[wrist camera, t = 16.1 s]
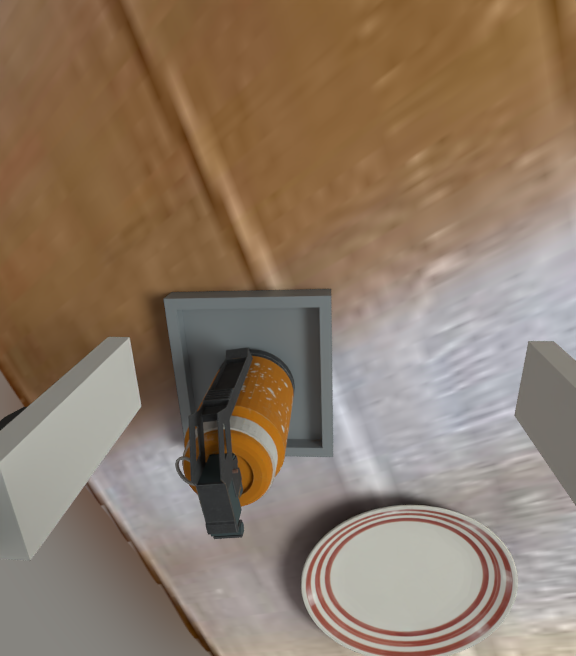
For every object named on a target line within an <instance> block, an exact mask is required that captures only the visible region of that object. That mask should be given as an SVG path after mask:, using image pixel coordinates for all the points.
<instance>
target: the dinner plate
mask: <svg viewBox="0 0 576 656" xmlns="http://www.w3.org/2000/svg"><path fill="white" fill-rule="evenodd" d="M517 587H518V576H517V570H516V565H515V563H514V560H513V557H512V555H511V554H510V552H509V550H508V548H507V547H506V546H505V544H504V543H503V542H502V541H501V540H500V539H499V538H498V537H497V536H496V535H495V534H494V533H493V532H492V531H491V530H489V529H488V528H487V527H485V526H484V525H482V524H481V523H479V522H477V521H476V520H474V519H472V518H470V517H467V516H465V515H463V514H460V513H457V512H455V511H451V510H447V509H444V508H439V507H432V506H424V505H396V506H388V507H383V508H378V509H374V510H370V511H367V512H364V513H361V514H359V515H356V516H354V517H352V518H350V519H348V520H346V521H344V522H342V523H341V524H339V525H338V526H336V527H335V528H333V529H332V530H331V531H329V532H328V533H327V534H326V535H325V536H324V537H323V538H322V539H321V540H320V541H319V542H318V543H317V544H316V545H315V547H314V548H313V549H312V551H311V552H310V554H309V556H308V557H307V559H306V562H305V564H304V567H303V571H302V576H301V592H302V597H303V601H304V604H305V607H306V609H307V611H308V613H309V615H310V616H311V618H312V619H313V621H314V622H315V624H316V625H317V626H318V627H319V628H320V629H321V630H322V631H323V632H324V633H325V634H326V635H327V636H329V637H330V638H331V639H333V640H334V641H335V642H337V643H338V644H340V645H342V646H344V647H346V648H348V649H350V650H352V651H354V652H357V653H360V654H363V655H366V656H449V655H452V654H455V653H458V652H461V651H463V650H465V649H468V648H470V647H472V646H474V645H475V644H477V643H479V642H480V641H482V640H483V639H485V638H486V637H488V636H489V635H490V634H491V633H493V632H494V631H495V630H496V629H497V628H498V627H499V626H500V625H501V623H502V622H503V621H504V620H505V618H506V617H507V615H508V614H509V612H510V610H511V608H512V606H513V604H514V601H515V598H516V594H517Z"/></svg>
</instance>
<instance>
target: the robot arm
mask: <svg viewBox="0 0 576 656" xmlns="http://www.w3.org/2000/svg"><path fill="white" fill-rule="evenodd" d="M140 408H141V401H140V395H139V389H138V383H137V378H136V372H135V366H134V360H133V354H132V349H131V343H130V337H108V338H106V339H105V340H104V341H103V342H102V343H101V344H100V345H98V346H97V347H96V348H95V349H94V350H93V351H91V352H90V353H89V354H88V355H87V356H86V357H85V358H83V359H82V360H81V361H80V362H79V363H78V364H77V365H75V366H74V367H73V368H72V369H71V370H70V371H68V372H67V373H66V374H65V375H64V376H63V377H62V378H60V379H59V380H58V381H57V382H56V383H55V384H53V385H52V386H51V387H50V388H49V389H48V390H47V391H45V392H44V393H43V394H42V395H41V396H40V397H39V398H37V399H36V400H35V401H34V402H33V403H32V404H30V405H29V406H28V407H23V408H21V409H19V410H17V411H15V412H14V413H12V414H10V415H8V416H6V417H4V418H3V419H2V420H1V421H0V559H9V560H10V559H11V560H28V561H31V559H32V558H33V556H34V555H35V554H36V552H37V551H38V550H39V548H40V547H41V545H42V544H43V542H44V541H45V540H46V538H47V537H48V536H49V534H50V533H51V531H52V530H53V529H54V527H55V526H56V525H57V523H58V522H59V520H60V519H61V518H62V516H63V515H64V513H65V512H66V511H67V509H68V508H69V506H70V505H71V504H72V502H73V501H74V499H75V498H76V497H77V495H78V494H79V493H80V491H81V490H82V488H83V487H84V486H85V484H86V483H87V481H88V480H89V479H90V477H91V476H92V474H93V473H94V472H95V470H96V469H97V468H98V466H99V465H100V463H101V462H102V461H103V459H104V458H105V456H106V455H107V454H108V452H109V451H110V449H111V448H112V447H113V445H114V444H115V442H116V441H117V440H118V438H119V437H120V436H121V434H122V433H123V431H124V430H125V429H126V427H127V426H128V424H129V423H130V422H131V420H132V419H133V417H134V416H135V415H136V413H137V412H138V410H139V409H140ZM514 416H515V417H516V418H517V420H518V421H519V423H520V424H521V426H522V427H523V429H524V430H525V432H526V433H527V435H528V436H529V438H530V439H531V441H532V442H533V443H534V445H535V446H536V448H537V449H538V451H539V452H540V454H541V455H542V457H543V458H544V460H545V461H546V463H547V464H548V466H549V467H550V469H551V470H552V471H553V473H554V474H555V476H556V477H557V479H558V480H559V482H560V483H561V485H562V486H563V488H564V489H565V491H566V492H567V494H568V495H569V496H570V498H571V499H572V501H573V502H574V504H575V505H576V361H575V360H574V359H573V358H572V357H571V356H570V355H569V354H567V353H566V352H565V351H564V350H563V349H562V348H561V347H559V346H558V345H557V344H556V343H555V342H554V341H528V346H527V352H526V357H525V362H524V368H523V373H522V378H521V383H520V389H519V394H518V399H517V404H516V410H515V415H514Z"/></svg>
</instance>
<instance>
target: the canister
mask: <svg viewBox="0 0 576 656" xmlns="http://www.w3.org/2000/svg"><path fill="white" fill-rule="evenodd" d="M294 390H295V385H294V379H293V376H292V373H291V371H290V370H289V368H288V367H287V365H286V364H285V363H284V362H283V361H282V360H281V359H279V358H278V357H277V356H275V355H273V354H271V353H269V352H266V351H262V350H256V349H250V350H249V349H248V348H239V349H231V350H226V354H225V360H224V362H223V363H222V365H221V366H220V368H219V370H218V372H217V374H216V375H215V377H214V379H213V381H212V383H211V385H210V387H209V389H208V391H207V393H206V394H205V396H204V398H203V400H202V402H201V404H200V406H199V408H198V410H197V411H196V412H195V413H193V414H191V415H189V416H188V419H189V427H188V429H187V432H186V435H185V440H184V447H185V450H184V453H183V456H182V457H179V458H178V459H177V460H176V463H175V466H176V470H177V472H178V474H179V476H180V477H181V478H182V479H183V480H184V481H185V482H186V483H188V484H189V485H190V487H191V488H192V489H193V490H194V492H195V493H196V494H198V497H199V500H200V504H201V507H202V511H203V515H204V518H205V522H206V529H207V533H208V534H211V536H214V539H222V538H239V537H242V536H243V533H244V525H243V522H242V520H239V518H240V514H241V506H245V505H248V504H251V503H253V502H255V501H256V500H258V499H259V498H260V497H262V496H263V495H264V494H265V493H266V492H267V491H268V490H269V488H270V487H271V485H272V483H273V481H274V477H275V476H276V475H277V474H278V473H279V471H280V469H281V467H282V465H283V462H284V458H285V451H286V444H287V438H288V431H289V424H290V418H291V411H292V404H293V398H294ZM180 460H182V465H183V470H184V474H185V476H184V475H183V474H182V472H181V471H180V468H179V461H180Z"/></svg>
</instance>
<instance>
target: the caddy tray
mask: <svg viewBox="0 0 576 656" xmlns="http://www.w3.org/2000/svg"><path fill="white" fill-rule="evenodd" d="M164 306H165V312H166V319H167V326H168V333H169V339H170V346H171V353H172V360H173V366H174V373H175V380H176V387H177V393H178V400H179V407H180V414H181V420H182V427H183V434H184V440H185V435H186V432H187V429H188V427H189V419H188V416H189V415H191V414H193V413H195V412H196V411H197V410H198V408H199V406H200V404H201V402H202V400H203V398H204V396H205V394H206V393H207V391H208V389H209V387H210V385H211V383H212V381H213V379H214V377H215V375H216V374H217V372H218V370H219V368H220V366H221V365H222V363H223V362H224V360H225V354H226V350H231V349H239V348H248V349H249V350H250V349H256V350H262V351H266V352H269V353H271V354H273V355H275V356H277V357H278V358H279V359H281V360H282V361H283V362H284V363H285V364H286V365H287V367H288V368H289V370H290V371H291V373H292V376H293V379H294V385H295V390H294V398H293V404H292V411H291V418H290V424H289V431H288V438H287V444H286V451H285V456H303V457H333V406H332V324H331V289H306V290H256V291H207V292H171V293H170V294H169V295H168V296H166V297H165V298H164Z"/></svg>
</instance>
